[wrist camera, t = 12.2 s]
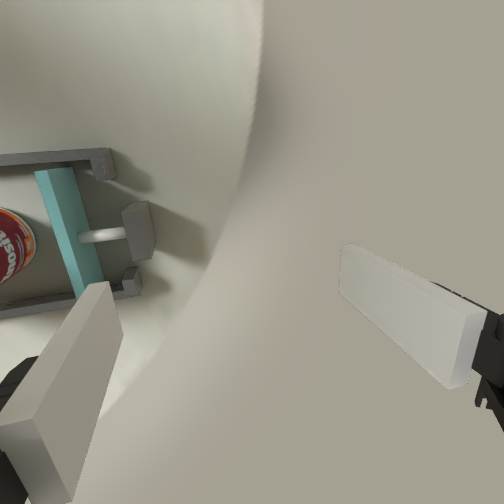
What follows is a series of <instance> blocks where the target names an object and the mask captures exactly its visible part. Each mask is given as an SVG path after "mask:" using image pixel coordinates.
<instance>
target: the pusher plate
mask: <svg viewBox="0 0 504 504" xmlns="http://www.w3.org/2000/svg"><path fill="white" fill-rule="evenodd" d="M34 174H35V177H36V180H37V183H38V186H39V189H40V192H41V194H42V197H43V200H44V203H45V206H46V209H47V212H48V215H49V218H50V221H51V224H52V227H53V230H54V233H55V236H56V239H57V242H58V245H59V248H60V251H61V254H62V257H63V260H64V263H65V266H66V269H67V272H68V275H69V278H70V281H71V284H72V287H73V290H74V293H75V296H76V299H77V301H78V299H79V298H80V296H81V295H82V293H83V292H84V291H85V289H86V288H87V286H88V285H89V284H93V283H99V282H105V279H104V276H103V272H102V269H101V265H100V262H99V258H98V255H97V251H96V248H95V244H94V242H101V241H108V240H116V239H124V238H127V242H128V246H129V250H130V254H131V258H132V262H133V261H140V260H147V259H152V255H153V251H154V247H155V243H156V238H155V233H154V229H153V224H152V219H151V214H150V209H149V204H148V201H141V202H132V203H130V204H129V205H128V206H127V207H126V208H125V209H124V210H123V211H122V213H121V217H122V221H123V225H124V227H116V228H108V229H99V230H90V227H89V223H88V220H87V216H86V213H85V209H84V206H83V202H82V199H81V195H80V192H79V188H78V185H77V181H76V178H75V174H74V171H73V167H65V168H56V169H49V170H41V171H34Z"/></svg>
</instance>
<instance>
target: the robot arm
mask: <svg viewBox="0 0 504 504" xmlns="http://www.w3.org/2000/svg"><path fill="white" fill-rule="evenodd" d="M339 294H340V295H341V296H343V297H344V298H345V299H346V300H347V301H348V302H349V303H351V304H352V305H353V306H354V307H355V308H356V309H357V310H359V311H360V312H361V313H362V314H363V315H364V316H365V317H366V318H368V319H369V320H370V321H371V322H372V323H373V324H374V325H375V326H377V327H378V328H379V329H380V330H381V331H382V332H383V333H385V334H386V335H387V336H388V337H389V338H390V339H391V340H392V341H394V342H395V343H396V344H397V345H398V346H399V347H400V348H402V349H403V350H404V351H405V352H406V353H407V354H408V355H409V356H411V357H412V358H413V359H414V360H415V361H416V362H417V363H419V364H420V365H421V366H422V367H423V368H424V369H425V370H427V371H428V372H429V373H430V374H431V375H432V376H433V377H435V378H436V379H437V380H438V381H439V382H440V383H441V384H442V385H444V386H445V387H446V388H447V389H448V390H449V389H452V388H455V387H459V386H462V385H466V384H468V381H469V377H470V374H471V370H472V369H474V370H475V371H476V372H478V373H479V374H480V375H482V377H481V381H480V384H479V388H478V391H477V394H476V398H475V405H476V407H480V405H481V402H482V399H483V398H486V399H487V401H488V402H487V405H486V409H491V410H493V412H494V414H495V416H496V418H497V420H498V422H499V424H500V426H501V428H502V430H503V432H504V314H501V315H499V314H497V313H495V312H492V311H491V310H489V309H487V308H485V307H483V306H481V305H479V304H477V303H475V302H473V301H471V300H469V299H467V298H465V297H461V295H459V294H457V293H455V292H451V290H449V289H447V288H445V287H443V286H441V285H439V284H437V283H433V282H430V281H428V280H426V279H424V278H422V277H420V276H418V275H416V274H414V273H412V272H410V271H408V270H406V269H404V268H402V267H401V266H399V265H397V264H395V263H393V262H391V261H389V260H387V259H385V258H383V257H381V256H379V255H377V254H375V253H373V252H371V251H369V250H367V249H366V248H364V247H362V246H360V245H358V244H356V243H352V244H345V245H341V261H340V281H339ZM122 338H123V331H122V328H121V324H120V320H119V317H118V313H117V310H116V306H115V302H114V299H113V295H112V291H111V288H110V284H109V281H106V282H99V283H93V284H89V285H88V286H87V288H86V289H85V291H84V292H83V293H82V295H81V296H80V298H79V299H78V301H77V302H76V304H75V305H74V306H73V308H72V309H71V311H70V312H69V314H68V315H67V316H66V318H65V319H64V321H63V322H62V324H61V325H60V327H59V328H58V329H57V331H56V332H55V334H54V335H53V337H52V338H51V340H50V341H49V342H48V344H47V345H46V347H45V348H44V350H43V351H42V353H41V354H40V355H39V356H35V357H30V358H26V359H25V360H24V361H22V362H21V363H20V364H19V365H17V366H16V367H15V368H14V369H12V370H11V371H10V372H9V373H8V374H7V376H6V377H5V378H4V380H3V381H2V382H1V383H0V504H25V501H26V499H27V497H28V499H29V500H30V502H31V504H65V503H68V502H72V500H73V497H74V494H75V490H76V487H77V484H78V481H79V477H80V474H81V471H82V468H83V464H84V461H85V458H86V454H87V451H88V448H89V445H90V442H91V439H92V435H93V432H94V429H95V426H96V422H97V419H98V416H99V413H100V409H101V406H102V403H103V400H104V396H105V393H106V390H107V387H108V384H109V380H110V377H111V374H112V371H113V367H114V364H115V361H116V358H117V354H118V351H119V348H120V345H121V341H122Z"/></svg>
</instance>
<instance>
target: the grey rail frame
mask: <svg viewBox="0 0 504 504" xmlns="http://www.w3.org/2000/svg"><path fill="white" fill-rule="evenodd" d="M89 159H90V162H91V166H92V170H93V174H94V178H95V181H99V180H109V179H112V178H115V177H117V176H116V171H115V167H114V163H113V159H112V154H111V150H110V148H93V149H78V150H63V151H48V152H33V153H17V154H2V155H0V166H7V165H21V164H34V163H48V162H62V161H75V160H89ZM110 288H111V291H112V295H113V299H114V300H116V299H122V298H127V297H133V296H139V295H141V293H142V289H143V287H142V282H141V278H140V274H139V269H138V267H133V268H127V270H126V272H125V275H124V277H123V279H122V284H119V285H113V286H110ZM76 302H77V299H76V296H75V293H74V292H70V293H64V294H57V295H51V296H45V297H39V298H33V299H26V300H20V301H14V302H8V303H2V304H0V319H5V318H10V317H16V316H22V315H28V314H34V313H40V312H46V311H51V310H57V309H63V308H69V307H73V306H74V305H75V304H76Z"/></svg>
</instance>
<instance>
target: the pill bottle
mask: <svg viewBox="0 0 504 504" xmlns="http://www.w3.org/2000/svg"><path fill="white" fill-rule="evenodd" d="M35 251H36V241H35V237H34V234H33V232H32V230H31V228H30V227H29V226H28V224H27V223H26V222H25V221H24V220H23V219H21V218H20V217H19V216H17V215H16V214H14V213H12V212H10V211H8V210H6V209H3V208H0V285H1V284H2V283H4V282H5V281H6V280H8V279H9V278H10V277H12V276H13V275H15V274H16V273H17V272H19V271H20V270H22V269H23V268H24V267H25V266H26V265H27V264H28V263H29V262H30V261H31V260H32V258H33V256H34V254H35Z"/></svg>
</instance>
